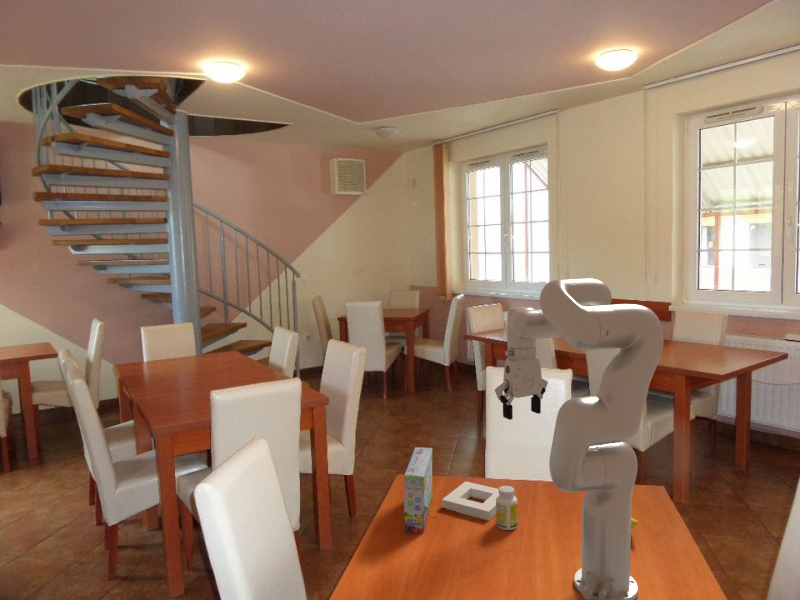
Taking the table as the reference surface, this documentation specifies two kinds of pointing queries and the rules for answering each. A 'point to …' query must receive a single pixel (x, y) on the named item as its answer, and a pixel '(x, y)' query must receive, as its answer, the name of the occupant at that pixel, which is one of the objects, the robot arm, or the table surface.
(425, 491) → the snack box
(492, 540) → the table surface
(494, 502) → the holder plate
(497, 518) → the supplement bottle
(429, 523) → the table surface
